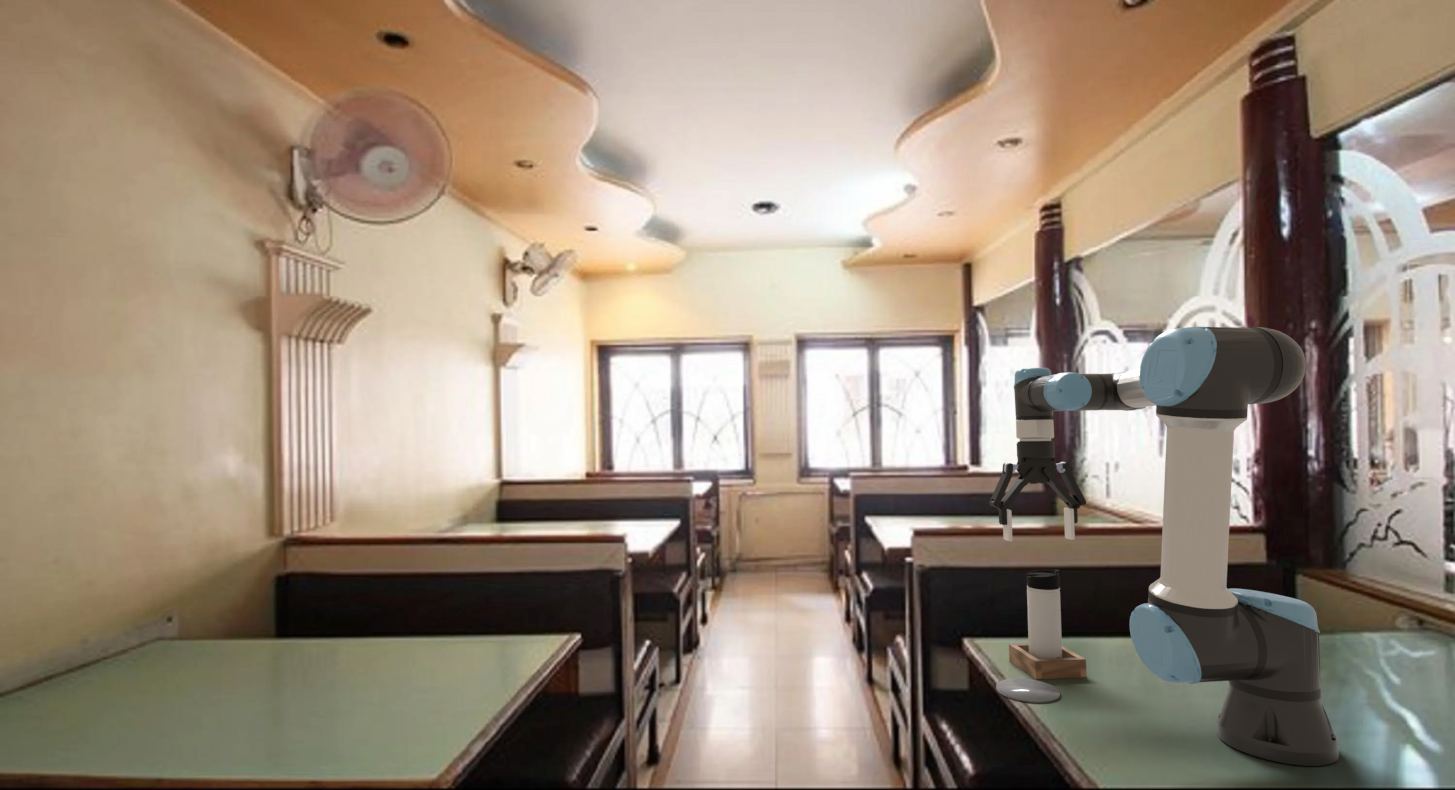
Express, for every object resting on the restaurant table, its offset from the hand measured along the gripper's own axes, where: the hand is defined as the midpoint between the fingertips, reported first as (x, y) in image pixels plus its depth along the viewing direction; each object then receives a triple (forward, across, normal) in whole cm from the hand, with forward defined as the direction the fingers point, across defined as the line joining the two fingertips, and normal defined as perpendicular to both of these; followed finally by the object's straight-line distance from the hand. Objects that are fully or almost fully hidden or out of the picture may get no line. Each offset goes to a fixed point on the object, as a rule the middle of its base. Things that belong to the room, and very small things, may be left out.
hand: (1039, 539), depth 158 cm
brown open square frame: (+26, +2, +5) cm, 26 cm away
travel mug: (+26, +2, +5) cm, 26 cm away
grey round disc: (+26, +12, +17) cm, 33 cm away
